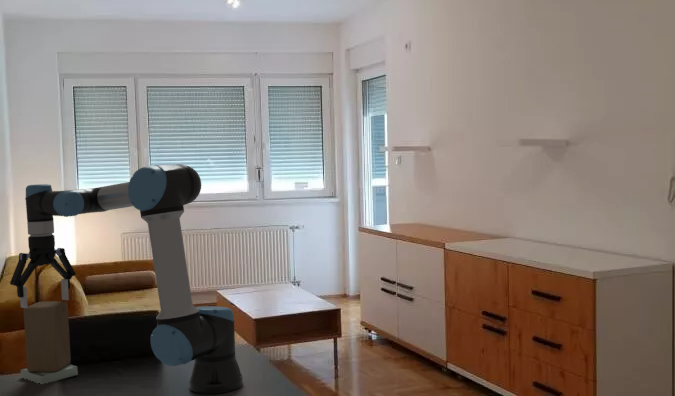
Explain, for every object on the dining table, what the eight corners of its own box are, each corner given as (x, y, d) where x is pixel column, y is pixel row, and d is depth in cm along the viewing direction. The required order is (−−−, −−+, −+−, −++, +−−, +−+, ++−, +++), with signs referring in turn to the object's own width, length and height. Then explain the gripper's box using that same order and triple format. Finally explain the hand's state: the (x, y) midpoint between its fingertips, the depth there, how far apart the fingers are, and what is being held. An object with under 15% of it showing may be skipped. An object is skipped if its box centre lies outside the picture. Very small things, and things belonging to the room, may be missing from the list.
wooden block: (72, 363, 240) (68, 300, 239) (57, 372, 230) (53, 307, 229) (41, 363, 241) (38, 300, 240) (25, 372, 231) (21, 307, 230)
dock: (77, 374, 237) (77, 366, 237) (41, 384, 227) (41, 376, 227) (56, 368, 244) (56, 360, 244) (21, 378, 235) (20, 369, 235)
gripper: (71, 230, 245) (75, 295, 246) (-5, 238, 226) (-1, 309, 227) (84, 231, 240) (88, 297, 242) (7, 240, 221) (12, 312, 222)
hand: (45, 303), depth 234 cm, fingers open, 13 cm apart
